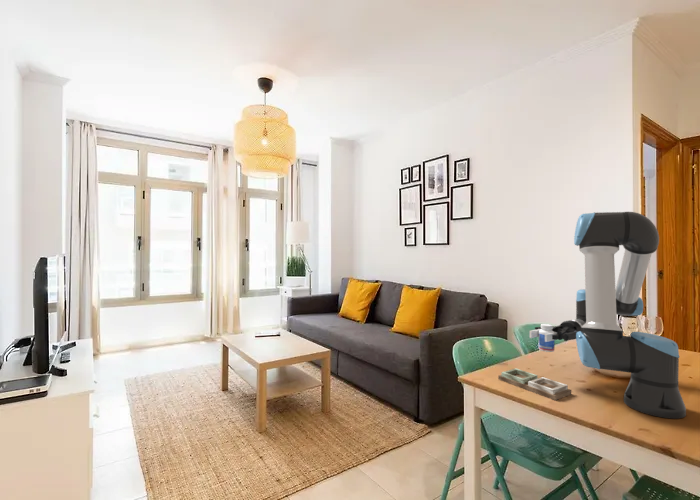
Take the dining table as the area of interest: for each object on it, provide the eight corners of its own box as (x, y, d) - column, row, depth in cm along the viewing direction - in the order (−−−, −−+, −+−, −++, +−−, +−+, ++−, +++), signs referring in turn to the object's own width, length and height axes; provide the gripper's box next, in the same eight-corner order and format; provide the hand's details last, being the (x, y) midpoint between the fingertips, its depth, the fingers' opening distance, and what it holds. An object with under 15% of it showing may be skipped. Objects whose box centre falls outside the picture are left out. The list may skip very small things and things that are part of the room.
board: (571, 394, 124) (571, 385, 124) (555, 400, 119) (555, 391, 119) (514, 374, 143) (514, 367, 143) (498, 379, 138) (498, 371, 138)
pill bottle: (556, 352, 133) (556, 326, 133) (540, 351, 134) (541, 326, 134) (551, 348, 138) (552, 323, 138) (536, 347, 140) (537, 323, 139)
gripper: (597, 344, 137) (562, 352, 126) (551, 333, 153) (516, 340, 142) (598, 324, 137) (562, 331, 126) (551, 316, 153) (516, 321, 142)
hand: (537, 336), depth 134 cm, fingers closed on pill bottle, 5 cm apart
